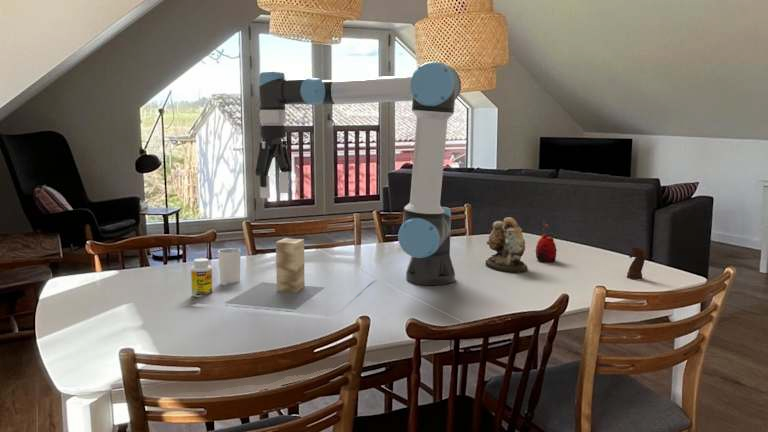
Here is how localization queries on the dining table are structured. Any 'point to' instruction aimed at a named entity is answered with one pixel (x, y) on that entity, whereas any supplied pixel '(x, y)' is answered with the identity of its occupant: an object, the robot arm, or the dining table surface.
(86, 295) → the dining table surface
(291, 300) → the mat
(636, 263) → the chess piece
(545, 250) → the red clay folk toy
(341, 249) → the dining table surface
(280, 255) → the oak block
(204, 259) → the supplement bottle
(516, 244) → the owl figurine
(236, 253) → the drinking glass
